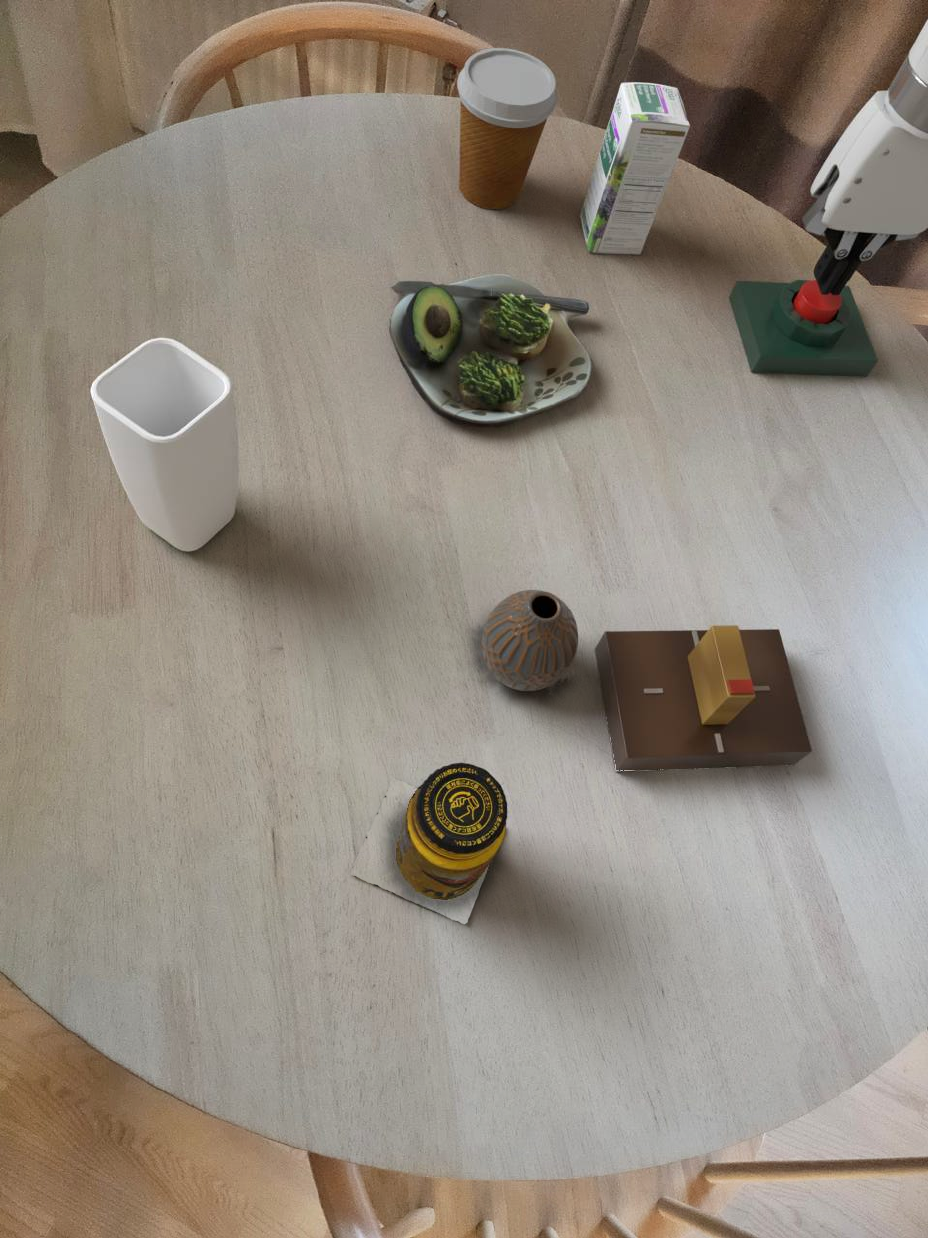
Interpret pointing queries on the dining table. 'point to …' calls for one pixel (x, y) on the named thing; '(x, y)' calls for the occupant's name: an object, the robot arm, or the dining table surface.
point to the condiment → (451, 830)
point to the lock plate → (695, 704)
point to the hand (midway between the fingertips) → (825, 283)
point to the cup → (172, 439)
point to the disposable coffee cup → (501, 122)
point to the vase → (530, 640)
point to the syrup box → (633, 167)
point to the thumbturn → (720, 675)
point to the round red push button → (816, 303)
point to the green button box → (799, 333)
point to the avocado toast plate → (488, 348)
